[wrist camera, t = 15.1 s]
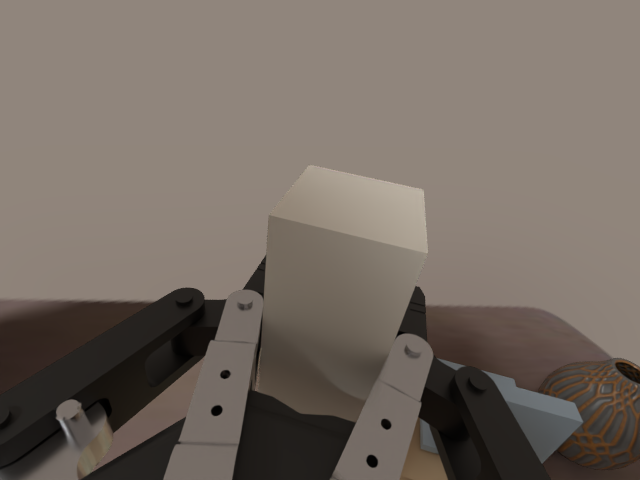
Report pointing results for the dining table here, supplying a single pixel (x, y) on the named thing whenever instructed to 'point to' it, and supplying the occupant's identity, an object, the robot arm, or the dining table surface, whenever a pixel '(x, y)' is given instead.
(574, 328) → the dining table surface
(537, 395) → the blue l-shaped block
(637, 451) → the vase
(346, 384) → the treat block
